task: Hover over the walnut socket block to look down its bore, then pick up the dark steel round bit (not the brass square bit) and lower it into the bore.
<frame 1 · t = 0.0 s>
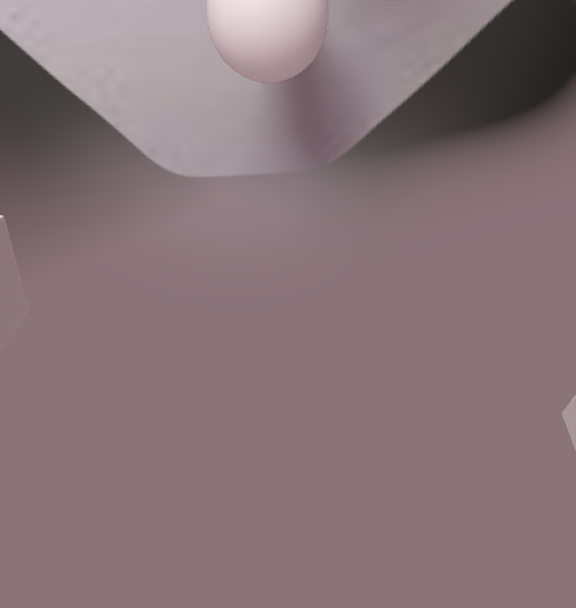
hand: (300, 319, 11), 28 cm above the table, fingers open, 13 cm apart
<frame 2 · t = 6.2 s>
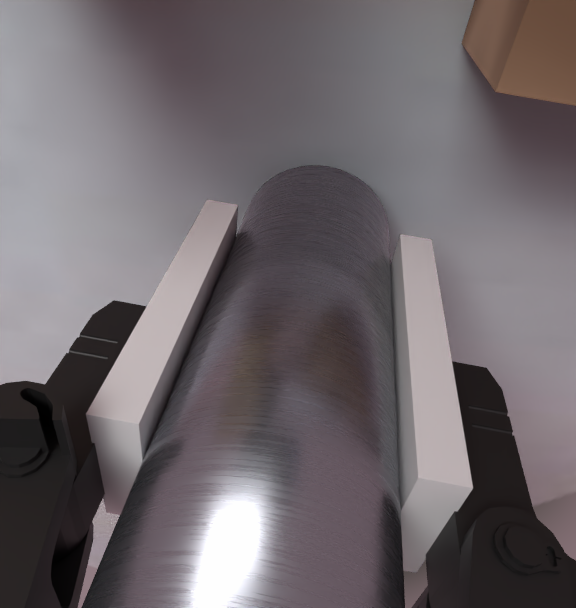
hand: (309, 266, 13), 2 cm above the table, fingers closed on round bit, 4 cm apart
round bit: (315, 233, 14), point 1 cm above the table, touching gripper
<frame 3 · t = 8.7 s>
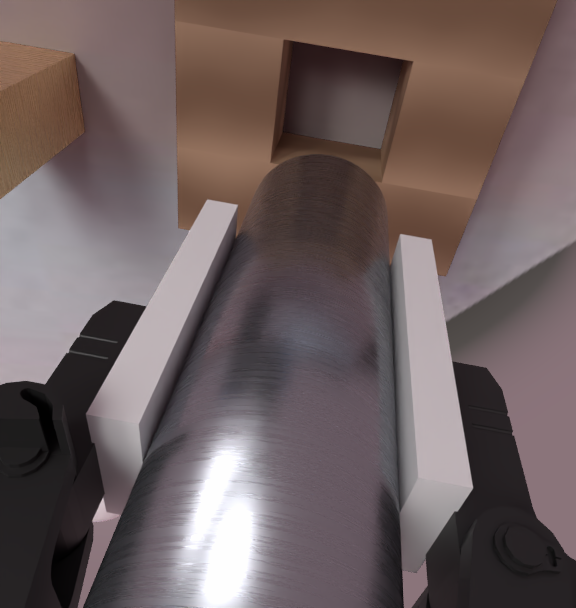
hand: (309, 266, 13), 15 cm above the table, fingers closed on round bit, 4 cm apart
square bit: (43, 88, 27), on the table
socket block: (341, 89, 25), on the table
round bit: (318, 220, 15), point 13 cm above the table, touching gripper
when the fingers open (5 cm above the table, at t = 11.6 s): round bit drops 2 cm, resting in socket block.
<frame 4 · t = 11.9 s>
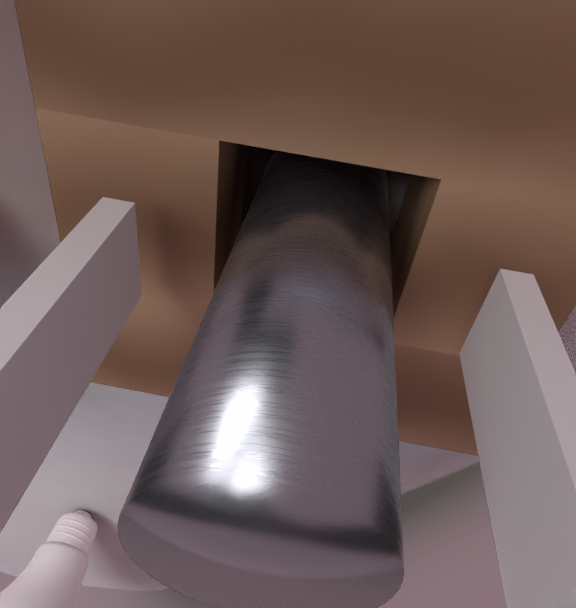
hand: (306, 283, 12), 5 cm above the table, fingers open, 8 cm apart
socket block: (324, 186, 16), on the table
round bit: (325, 188, 16), resting in socket block
lightbulb: (85, 509, 33), on the table
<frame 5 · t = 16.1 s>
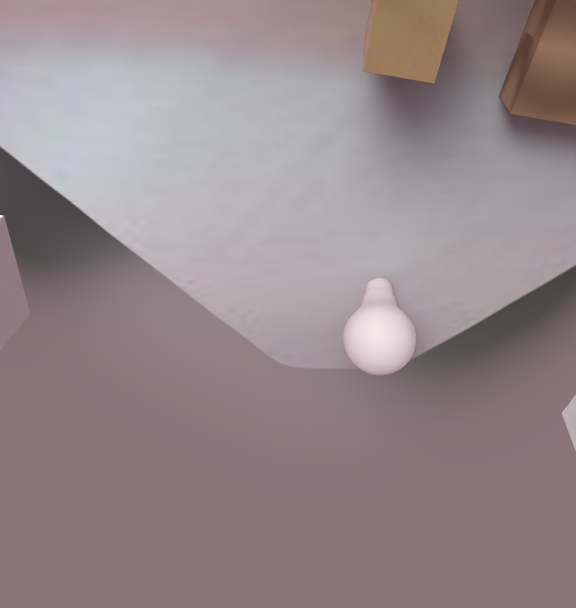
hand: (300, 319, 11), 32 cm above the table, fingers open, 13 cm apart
square bit: (401, 7, 34), on the table
lightbulb: (378, 282, 49), on the table
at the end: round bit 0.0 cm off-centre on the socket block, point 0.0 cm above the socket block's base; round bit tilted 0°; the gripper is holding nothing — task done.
